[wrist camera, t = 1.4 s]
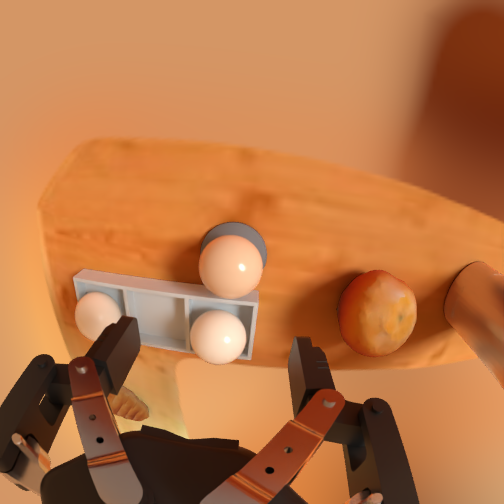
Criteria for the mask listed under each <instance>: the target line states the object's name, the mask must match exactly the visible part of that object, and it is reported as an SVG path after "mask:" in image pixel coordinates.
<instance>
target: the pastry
mask: <svg viewBox="0 0 504 504" xmlns="http://www.w3.org/2000/svg"><path fill="white" fill-rule="evenodd" d="M108 401H109V404H110V407H111V409H112V412H113V414H116V415H118V416H122V417H124V418H126V419H131V420H135V421H141V420H144V419H147V418H148V417H149V412H148V408H147V406H146V405H145V404H144V403H143V402H142V401H140V400H139V399H138V398H137V397H136V396H135V394H134V393H133V392H132V391H130V390H128V389H127V388H125V387H124V386H122V387H121V389H120V391H119V393H118V395H114V394H109V396H108Z"/></svg>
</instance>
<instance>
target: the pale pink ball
mask: <svg viewBox="0 0 504 504" xmlns="http://www.w3.org/2000/svg"><path fill="white" fill-rule="evenodd" d="M262 271H263V263H262V258H261V255H260V253H259V251H258V249H257V248H256V247H255V245H254V244H253V243H252V242H250V241H249V240H247V239H246V238H243V237H241V236H237V235H224V236H220V237H218V238H216V239H214V240H212V241H211V242H210V243H209V244H208V245H207V246H206V247H205V248H204V250H203V251H202V253H201V256H200V259H199V275H200V278H201V280H202V282H203V284H204V285H205V287H206V288H207V289H208V290H209V291H210V292H211V293H213V294H214V295H216V296H218V297H221V298H225V299H236V298H240V297H243V296H245V295H247V294H249V293H250V292H251V291H252V290H253V289H254V288H255V287H256V286H257V285H258V283H259V281H260V279H261V276H262Z"/></svg>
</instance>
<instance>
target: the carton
mask: <svg viewBox="0 0 504 504" xmlns="http://www.w3.org/2000/svg"><path fill="white" fill-rule="evenodd" d="M73 281H74V286H75V291H76V296H77V301H78V302H79V300H80V299H81V298H82V297H83V296H84V295H86V294H88V293H90V292H103V293H106V294H108V295H109V296H111V297H112V298H113V299H114V300H115V301H116V302H117V304H118V305H119V307H120V310H121V314H122V315H124V316H130V317H135V318H137V321H138V328H139V334H140V340H141V345H145V346H151V347H156V348H161V349H167V350H173V351H179V352H186V353H192V354H196V353H195V352H194V350H193V348H192V346H191V342H190V331H191V328H192V325H193V323H194V322H195V320H196V319H197V318H198V317H199V316H200V315H201V314H203V313H205V312H207V311H210V310H216V309H219V310H225V311H228V312H231V313H232V314H234V315H235V316H236V317H238V318H239V319H240V321H241V322H242V324H243V325H244V328H245V331H246V345H245V347H244V350H243V352H242V353H241V354H240V356H239V357H238V358H236V359H244V360H251V357H252V350H253V342H254V334H255V327H256V319H257V311H258V303H259V291H257V290H252V291H251V292H250V293H249V294H247V295H245V296H243V297H240V298H236V299H225V298H221V297H218V296H216V295H214V294H213V293H211V292H210V291H209V290H208V289H207V288H206V287H205V285H199V284H190V283H182V282H174V281H166V280H158V279H150V278H143V277H136V276H129V275H122V274H115V273H108V272H102V271H95V270H89V269H83V270H81V271H80V272H79V273H78V274H76V275H75V276H74V277H73Z"/></svg>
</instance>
